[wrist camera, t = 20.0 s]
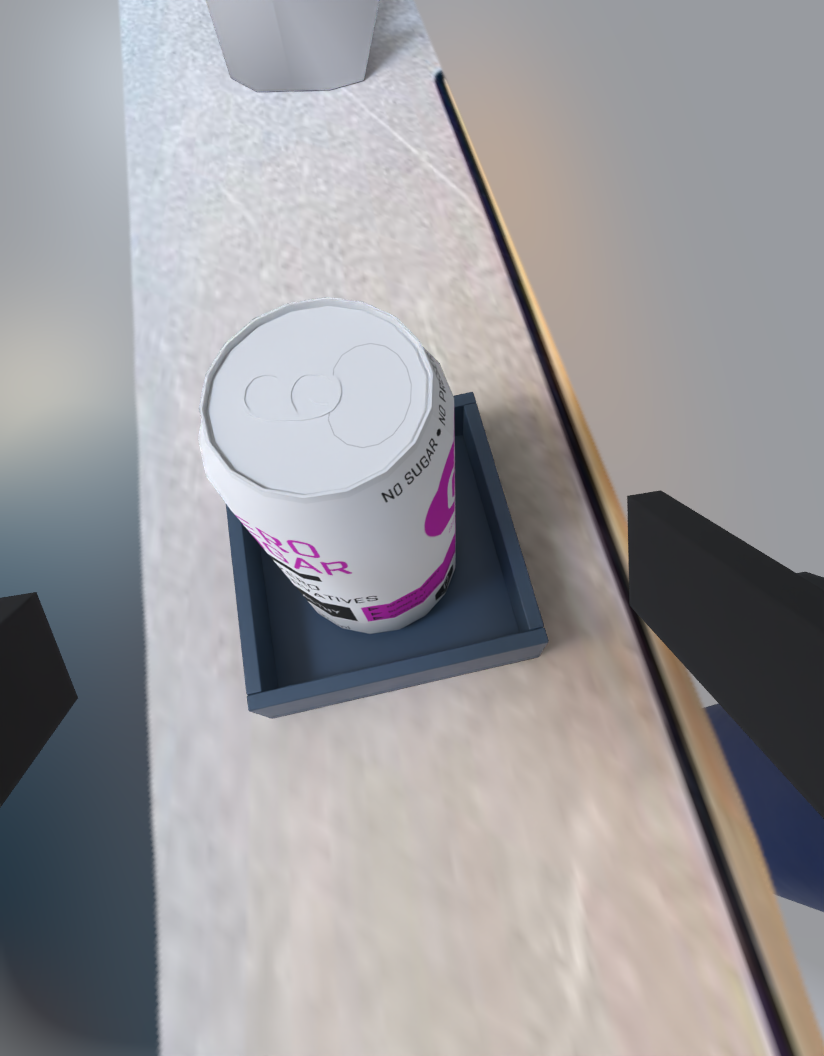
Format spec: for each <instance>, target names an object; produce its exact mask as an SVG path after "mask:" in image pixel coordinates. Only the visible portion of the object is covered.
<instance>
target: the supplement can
mask: <svg viewBox="0 0 824 1056" xmlns="http://www.w3.org/2000/svg"><path fill="white" fill-rule="evenodd" d="M199 412H200V416H201V425H200V430H199V436H198V441H199V445H200V450H201V455H202V459H203V464H204V469H205V473H206V477H207V478H208V479H209V481H210V482H211V484H212V485H213V486H214V488H215V489H216V490H217V492H218V493H219V495H220V496H221V497H222V499H223V500H224V501H225V503H226V504H227V506H228V507H229V508H230V510H231V511H232V512H233V513H234V514H235V516H236V517H237V518H238V519H239V520H240V521H241V523H242V524H243V525H244V526H245V527H246V529H247V530H248V531H249V532H250V533H251V534H252V536H253V537H254V538H255V539H256V540H257V542H258V543H259V544H260V545H261V546H262V547H263V549H264V550H265V551H266V552H267V553H268V555H269V556H270V557H271V558H272V559H273V561H274V562H275V563H276V564H277V565H278V566H279V568H280V569H281V570H282V571H283V572H284V574H285V575H286V576H287V577H288V578H289V579H290V581H291V582H292V583H293V584H294V585H295V587H296V588H297V589H298V590H299V591H300V592H301V594H302V595H303V596H304V597H305V598H306V600H307V601H308V602H309V603H310V604H311V605H312V607H313V608H314V609H315V610H316V611H317V613H318V614H320V615H322V616H323V617H325V618H326V619H328V620H330V621H331V622H333V623H334V624H336V625H338V626H339V627H341V628H343V629H348V630H353V631H358V632H363V633H368V634H373V633H380V632H386V631H393V630H399V629H401V628H403V627H405V626H407V625H409V624H411V623H413V622H414V621H416V620H418V619H420V618H422V617H424V616H426V614H427V613H428V612H429V611H430V610H431V609H432V608H433V607H434V606H435V605H436V603H437V602H438V601H439V600H440V599H441V598H442V597H443V596H444V595H445V593H446V590H447V588H448V585H449V583H450V580H451V578H452V575H453V573H454V570H455V557H456V523H455V431H454V397H453V394H452V392H451V390H450V387H449V385H448V382H447V380H446V378H445V375H444V373H443V370H442V368H441V366H440V363H439V362H438V361H437V360H436V359H435V358H434V357H433V356H432V355H431V354H430V353H429V352H428V351H427V350H426V349H425V348H424V347H423V346H422V345H421V342H420V340H419V339H418V338H417V337H416V336H415V335H414V334H413V333H412V332H411V331H410V330H409V329H408V328H407V327H406V326H405V325H404V324H403V323H402V322H401V321H400V320H399V319H398V318H397V317H396V316H393V315H391V314H389V313H387V312H385V311H382V310H380V309H378V308H376V307H374V306H372V305H369V304H367V303H365V302H362V301H354V300H346V299H337V298H329V297H324V298H317V299H311V300H305V301H299V302H292V303H287V304H285V305H283V306H281V307H279V308H276V309H274V310H272V311H270V312H268V313H265V314H263V315H261V316H259V317H257V318H254V319H253V320H252V321H250V322H249V323H248V324H247V325H246V326H245V327H243V328H242V329H241V330H240V331H239V332H238V333H236V334H235V335H234V336H233V337H232V338H231V339H229V340H228V341H227V342H226V343H225V344H224V345H223V347H222V349H221V350H220V352H219V353H218V355H217V357H216V358H215V360H214V362H213V363H212V365H211V366H210V368H209V370H208V371H207V373H206V375H205V380H204V385H203V390H202V395H201V400H200V405H199Z"/></svg>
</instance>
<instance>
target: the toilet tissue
mask: <svg viewBox="0 0 824 1056" xmlns="http://www.w3.org/2000/svg"><path fill="white" fill-rule="evenodd" d="M379 1H380V0H206V3H207V6H208V9H209V12H210V15H211V19H212V22H213V25H214V28H215V31H216V34H217V37H218V40H219V43H220V46H221V49H222V52H223V56H224V59H225V62H226V65H227V68H228V71H229V74H230V77H231V78H232V79H234V80H235V81H237V82H239V83H241V84H243V85H245V86H247V87H249V88H250V89H252V90H254V91H256V92H269V91H308V90H332V89H335V88H339V87H342V86H345V85H349V84H352V83H356V82H359V81H363V80H364V77H365V72H366V67H367V62H368V57H369V52H370V47H371V42H372V36H373V31H374V26H375V21H376V16H377V11H378V6H379Z"/></svg>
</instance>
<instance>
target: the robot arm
mask: <svg viewBox="0 0 824 1056" xmlns="http://www.w3.org/2000/svg"><path fill="white" fill-rule="evenodd" d="M627 499H628V502H627V503H628V553H629V604H630V606H631V607H632V608H633V609H634V611H635V612H636V613H637V614H638V615H639V616H640V617H641V618H642V619H643V620H644V622H645V623H646V624H647V625H648V626H649V627H650V628H651V629H652V630H653V631H654V633H655V634H656V635H657V636H658V637H659V638H660V639H661V640H662V641H663V642H664V644H665V645H666V646H667V647H668V648H669V649H670V650H671V651H672V652H673V653H674V655H675V656H676V657H677V658H678V659H679V660H680V661H681V662H682V663H683V664H684V666H685V667H686V668H687V669H688V670H689V671H690V672H691V673H692V674H693V675H694V677H695V678H696V679H697V680H698V681H699V682H700V683H701V684H702V685H703V686H704V688H705V689H706V690H707V691H708V692H709V693H710V694H711V695H712V696H713V697H714V699H715V700H716V701H717V702H718V703H719V704H720V705H721V706H722V707H723V709H724V710H725V711H726V712H727V713H728V714H729V715H730V716H731V717H732V718H733V720H734V721H735V722H736V723H737V724H738V725H739V726H740V727H741V728H742V729H743V731H744V732H745V733H746V734H747V735H748V736H749V737H750V738H751V739H752V740H753V742H754V743H755V744H756V745H757V746H758V747H759V748H760V749H761V750H762V751H763V753H764V754H765V755H766V756H767V757H768V758H769V759H770V760H771V761H772V762H773V764H774V765H775V766H776V767H777V768H778V769H779V770H780V771H781V772H782V773H783V775H784V776H785V777H786V778H787V779H788V780H789V781H790V782H791V783H792V784H793V786H794V787H795V788H796V789H797V790H798V791H799V792H800V793H801V794H802V795H803V797H804V798H805V799H806V800H807V801H808V802H809V803H810V804H811V805H812V806H813V808H814V809H815V810H816V811H817V812H818V813H819V814H820V815H821V816H822V817H823V819H824V577H820V576H817V575H814V574H811V573H808V572H801V573H795V572H793V571H792V570H790V569H788V568H787V567H785V566H783V565H782V564H780V563H779V562H777V561H775V560H774V559H772V558H770V557H769V556H767V555H765V554H764V553H762V552H761V551H759V550H757V549H755V548H754V547H752V546H751V545H749V544H747V543H746V542H744V541H742V540H741V539H739V538H738V537H736V536H734V535H732V534H731V533H729V532H728V531H726V530H725V529H723V528H721V527H720V526H718V525H716V524H715V523H713V522H711V521H710V520H708V519H707V518H705V517H703V516H702V515H700V514H698V513H697V512H695V511H693V510H692V509H690V508H689V507H687V506H685V505H684V504H682V503H680V502H679V501H677V500H675V499H674V498H672V497H671V496H669V495H667V494H666V493H664V492H662V491H655V492H649V493H643V494H636V495H630V496H627ZM77 699H78V697H77V694H76V692H75V689H74V687H73V684H72V681H71V679H70V677H69V674H68V671H67V669H66V666H65V664H64V661H63V659H62V656H61V654H60V651H59V648H58V646H57V643H56V641H55V638H54V636H53V633H52V631H51V628H50V626H49V623H48V621H47V618H46V615H45V613H44V611H43V608H42V605H41V603H40V600H39V598H38V595H37V593H36V592H34V593H28V594H21V595H16V596H9V597H3V598H0V807H1V806H2V805H3V803H4V802H5V800H6V799H7V797H8V796H9V795H10V793H11V792H12V790H13V789H14V788H15V786H16V785H17V783H18V782H19V781H20V779H21V778H22V776H23V775H24V773H25V772H26V771H27V769H28V768H29V766H30V765H31V764H32V762H33V760H34V759H35V758H36V757H37V755H38V754H39V752H40V751H41V749H42V748H43V747H44V745H45V744H46V742H47V741H48V740H49V738H50V737H51V735H52V734H53V732H54V731H55V730H56V728H57V727H58V725H59V724H60V723H61V721H62V720H63V718H64V717H65V715H66V714H67V712H68V711H69V710H70V708H71V707H72V706H73V704H74V703H75V701H76V700H77Z"/></svg>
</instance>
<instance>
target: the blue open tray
mask: <svg viewBox="0 0 824 1056" xmlns="http://www.w3.org/2000/svg"><path fill="white" fill-rule="evenodd" d="M453 397H454V431H455V523H456V557H455V570H454V573H453V575H452V578H451V580H450V583H449V585H448V588H447V590H446V593H445V595H444V596H443V597H442V598H441V599H440V600H439V601H438V602H437V603H436V605H435V606H434V607H433V608H432V609H431V610H430V611H429V612H428V613H427V614H426V616H424V617H422V618H420V619H418V620H416V621H414V622H413V623H411V624H409V625H407V626H405V627H403V628H401V629H399V630H393V631H386V632H380V633H373V634H368V633H363V632H358V631H353V630H348V629H343V628H341V627H339V626H338V625H336V624H334V623H333V622H331V621H330V620H328V619H326V618H325V617H323V616H322V615H320V614H318V613H317V611H316V610H315V609H314V608H313V607H312V605H311V604H310V603H309V602H308V601H307V600H306V598H305V597H304V596H303V595H302V594H301V592H300V591H299V590H298V589H297V588H296V587H295V585H294V584H293V583H292V582H291V581H290V579H289V578H288V577H287V576H286V575H285V574H284V572H283V571H282V570H281V569H280V568H279V566H278V565H277V564H276V563H275V562H274V561H273V559H272V558H271V557H270V556H269V555H268V553H267V552H266V551H265V550H264V549H263V547H262V546H261V545H260V544H259V543H258V542H257V540H256V539H255V538H254V537H253V536H252V534H251V533H250V532H249V531H248V530H247V529H246V527H245V526H244V525H243V524H242V523H241V521H240V520H239V519H238V518H237V517H236V516H235V514H234V513H233V512H232V511H231V510H230V508H229V507H228V506H227V504H226V510H227V519H228V528H229V537H230V546H231V556H232V565H233V574H234V583H235V593H236V602H237V611H238V620H239V629H240V639H241V648H242V657H243V666H244V676H245V685H246V694H247V695H248V696H247V703H248V710H249V711H250V712H253V713H257V714H260V715H263V716H266V717H268V718H272V719H273V718H277V717H281V716H286V715H290V714H294V713H299V712H303V711H307V710H312V709H316V708H320V707H325V706H329V705H333V704H338V703H342V702H346V701H351V700H355V699H359V698H364V697H368V696H372V695H377V694H381V693H385V692H390V691H394V690H398V689H403V688H407V687H411V686H416V685H420V684H424V683H428V682H433V681H437V680H441V679H446V678H450V677H454V676H459V675H463V674H467V673H472V672H476V671H480V670H485V669H489V668H493V667H498V666H502V665H506V664H511V663H515V662H519V661H524V660H528V659H532V658H537V657H539V656H540V654H541V652H542V651H543V649H544V648H545V646H546V645H547V643H548V641H549V640H548V637H547V634H546V630H545V628H543V627H544V624H543V621H542V617H541V614H540V611H539V607H538V604H537V601H536V597H535V594H534V591H533V588H532V584H531V581H530V578H529V574H528V571H527V568H526V565H525V561H524V558H523V555H522V551H521V548H520V545H519V542H518V538H517V535H516V532H515V528H514V525H513V522H512V519H511V515H510V512H509V509H508V505H507V502H506V499H505V496H504V492H503V489H502V486H501V482H500V479H499V476H498V472H497V469H496V466H495V463H494V459H493V456H492V453H491V449H490V446H489V443H488V440H487V436H486V433H485V430H484V426H483V423H482V420H481V417H480V413H479V410H478V407H477V404H476V400H475V397H474V393H473V392H469V393H465V394H460V395H456V396H453Z"/></svg>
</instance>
